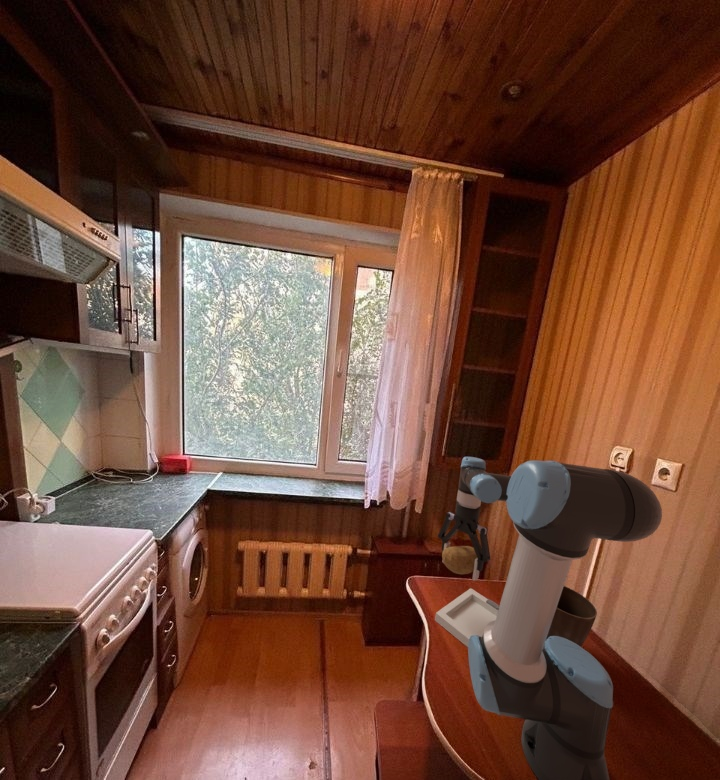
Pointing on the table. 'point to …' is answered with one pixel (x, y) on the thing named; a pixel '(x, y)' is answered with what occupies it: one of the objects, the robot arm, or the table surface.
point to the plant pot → (572, 617)
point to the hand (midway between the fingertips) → (459, 569)
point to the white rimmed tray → (467, 615)
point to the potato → (459, 559)
